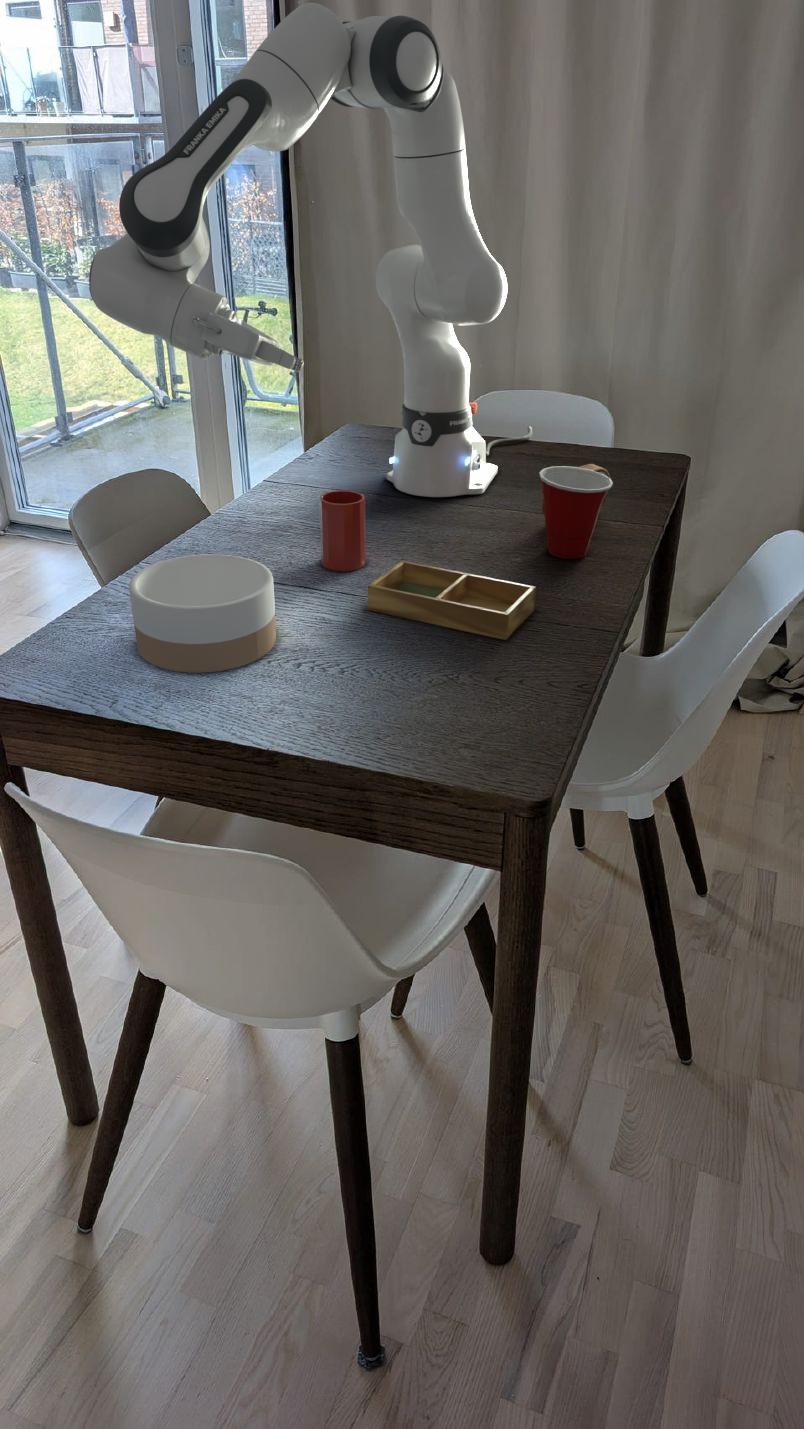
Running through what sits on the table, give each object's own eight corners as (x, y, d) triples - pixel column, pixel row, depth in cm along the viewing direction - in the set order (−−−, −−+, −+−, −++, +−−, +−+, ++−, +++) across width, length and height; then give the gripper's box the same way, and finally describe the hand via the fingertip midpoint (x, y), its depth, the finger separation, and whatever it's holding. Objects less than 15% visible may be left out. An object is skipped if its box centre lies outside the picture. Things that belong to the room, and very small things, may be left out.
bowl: (155, 611, 137) (148, 551, 133) (284, 614, 136) (281, 554, 132) (120, 671, 122) (111, 606, 118) (265, 675, 121) (261, 610, 117)
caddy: (402, 583, 146) (402, 560, 144) (534, 610, 138) (536, 586, 137) (367, 610, 138) (367, 585, 136) (505, 640, 130) (507, 614, 129)
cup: (335, 552, 156) (334, 488, 151) (372, 560, 154) (372, 494, 149) (313, 566, 151) (311, 500, 146) (351, 574, 149) (351, 507, 144)
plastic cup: (603, 568, 152) (612, 488, 146) (529, 562, 153) (536, 483, 147) (606, 543, 161) (614, 467, 155) (536, 537, 163) (542, 462, 157)
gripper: (195, 292, 131) (296, 337, 132) (225, 308, 150) (314, 347, 152) (178, 341, 132) (279, 385, 134) (211, 350, 152) (298, 389, 153)
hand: (298, 365), depth 143 cm, fingers open, 8 cm apart
